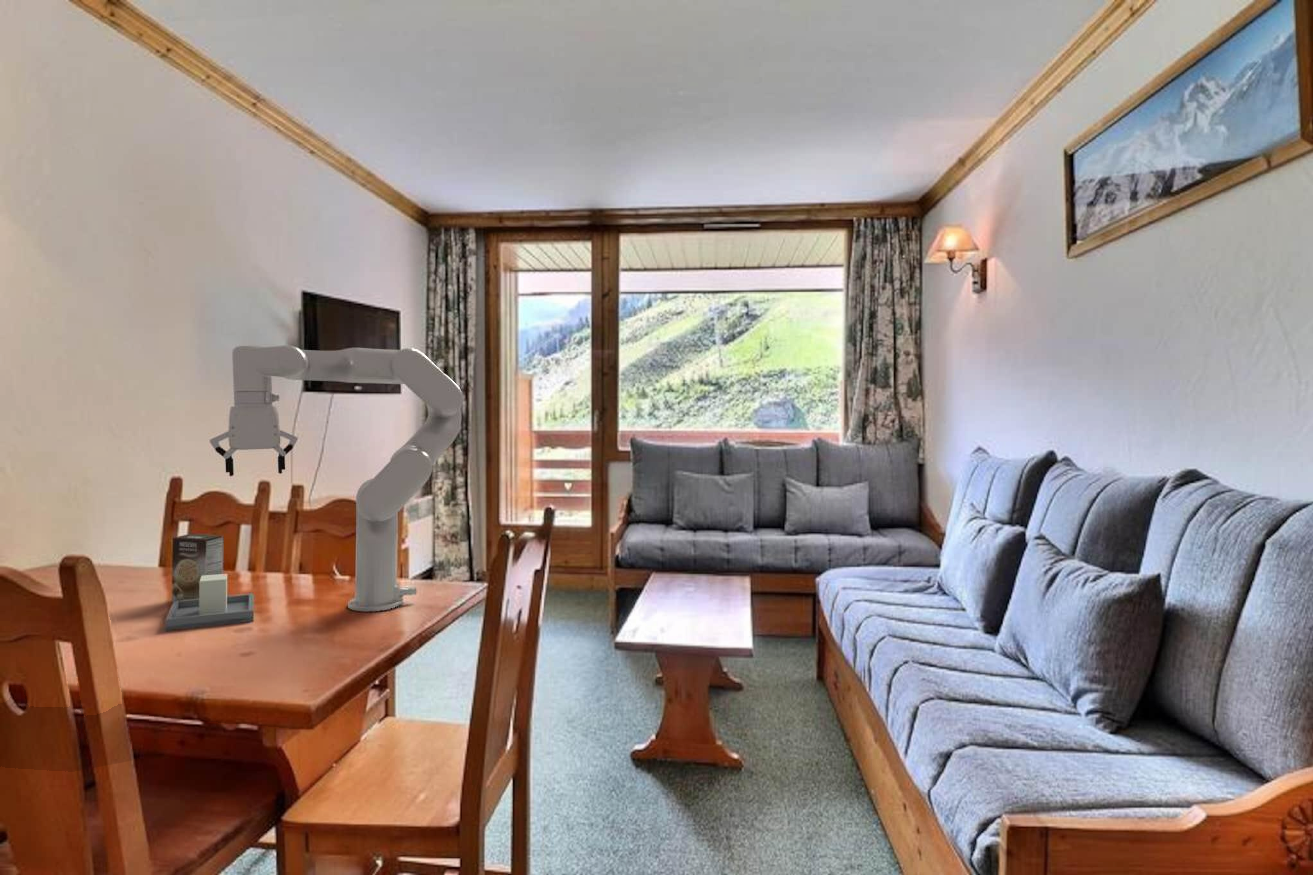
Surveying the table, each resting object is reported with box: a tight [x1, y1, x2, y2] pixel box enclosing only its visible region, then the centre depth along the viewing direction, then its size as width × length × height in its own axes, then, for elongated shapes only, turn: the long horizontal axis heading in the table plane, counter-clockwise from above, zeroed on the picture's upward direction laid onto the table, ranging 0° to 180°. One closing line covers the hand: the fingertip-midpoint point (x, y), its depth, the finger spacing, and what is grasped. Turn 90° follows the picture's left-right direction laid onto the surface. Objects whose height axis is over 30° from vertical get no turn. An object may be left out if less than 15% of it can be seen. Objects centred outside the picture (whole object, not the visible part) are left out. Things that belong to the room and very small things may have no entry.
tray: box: [165, 592, 255, 632], centre depth 152 cm, size 16×16×2 cm
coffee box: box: [171, 532, 225, 603], centre depth 164 cm, size 9×6×16 cm
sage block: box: [199, 573, 228, 615], centre depth 152 cm, size 5×6×8 cm
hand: (256, 474), depth 153 cm, fingers open, 9 cm apart
